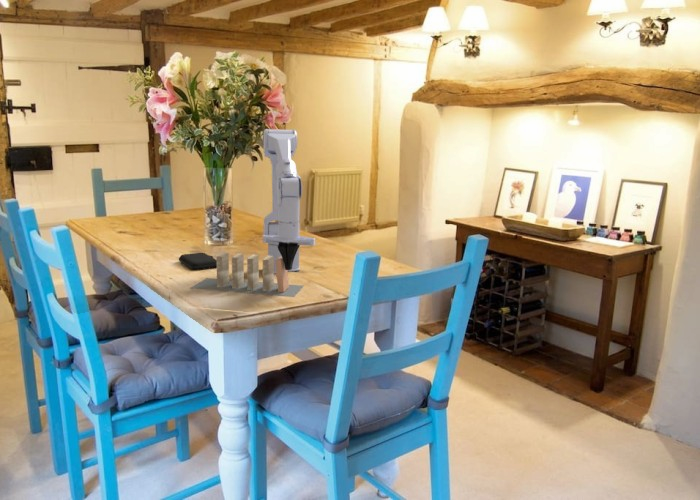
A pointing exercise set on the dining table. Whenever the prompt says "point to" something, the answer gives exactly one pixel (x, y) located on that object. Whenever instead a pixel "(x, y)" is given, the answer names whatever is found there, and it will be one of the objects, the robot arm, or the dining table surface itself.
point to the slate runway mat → (212, 285)
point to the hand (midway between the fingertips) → (288, 269)
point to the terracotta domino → (281, 275)
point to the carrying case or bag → (198, 261)
